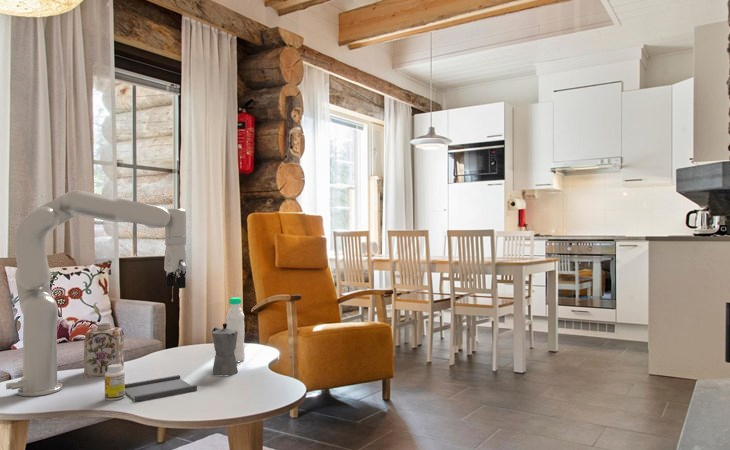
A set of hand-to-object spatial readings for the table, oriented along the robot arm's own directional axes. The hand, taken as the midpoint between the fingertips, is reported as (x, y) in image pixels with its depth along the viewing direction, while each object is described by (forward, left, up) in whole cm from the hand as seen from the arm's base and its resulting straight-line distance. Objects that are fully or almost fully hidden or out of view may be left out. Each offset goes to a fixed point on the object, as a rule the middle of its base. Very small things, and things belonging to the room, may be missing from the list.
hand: (175, 287), depth 205 cm
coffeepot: (+12, -15, -31) cm, 37 cm away
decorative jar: (-22, +13, -31) cm, 40 cm away
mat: (-13, -23, -31) cm, 41 cm away
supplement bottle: (-27, -23, -31) cm, 47 cm away
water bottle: (+23, -1, -31) cm, 39 cm away
